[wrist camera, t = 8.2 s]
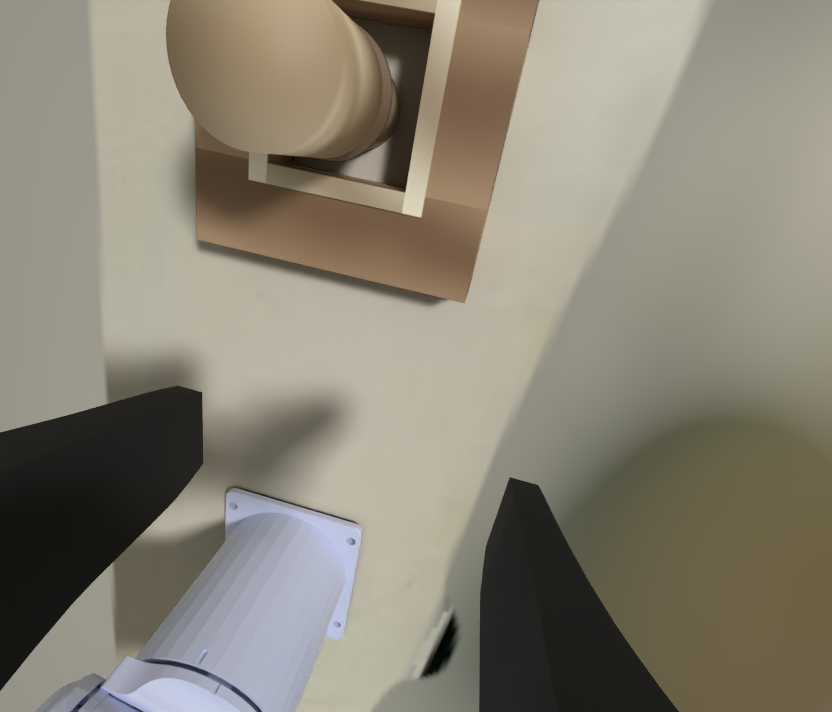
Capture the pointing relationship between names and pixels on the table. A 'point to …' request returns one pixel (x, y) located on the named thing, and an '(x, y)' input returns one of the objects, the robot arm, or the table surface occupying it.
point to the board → (376, 202)
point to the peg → (282, 76)
